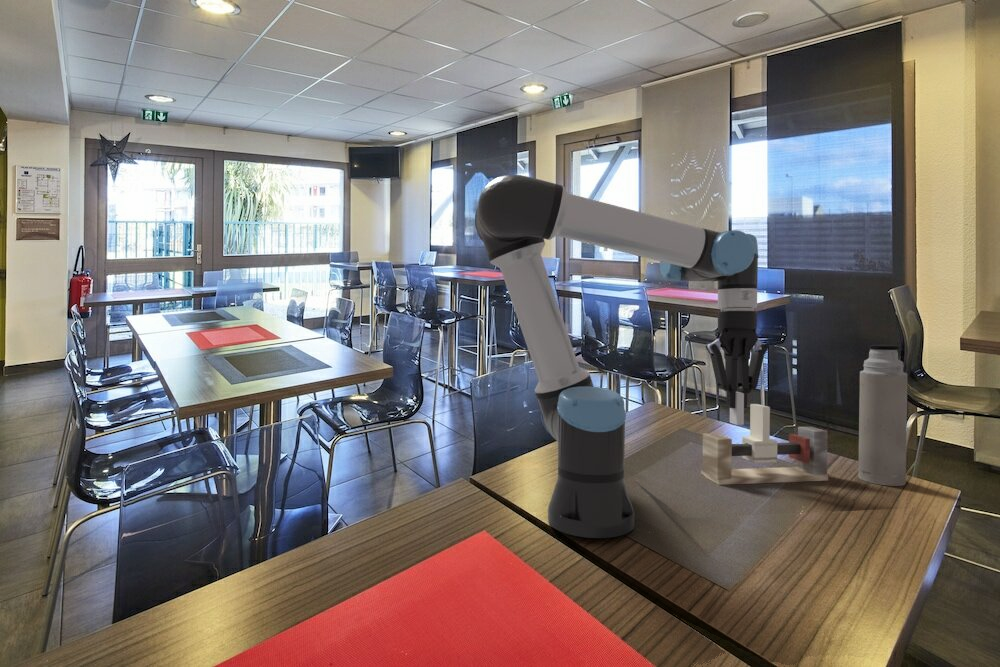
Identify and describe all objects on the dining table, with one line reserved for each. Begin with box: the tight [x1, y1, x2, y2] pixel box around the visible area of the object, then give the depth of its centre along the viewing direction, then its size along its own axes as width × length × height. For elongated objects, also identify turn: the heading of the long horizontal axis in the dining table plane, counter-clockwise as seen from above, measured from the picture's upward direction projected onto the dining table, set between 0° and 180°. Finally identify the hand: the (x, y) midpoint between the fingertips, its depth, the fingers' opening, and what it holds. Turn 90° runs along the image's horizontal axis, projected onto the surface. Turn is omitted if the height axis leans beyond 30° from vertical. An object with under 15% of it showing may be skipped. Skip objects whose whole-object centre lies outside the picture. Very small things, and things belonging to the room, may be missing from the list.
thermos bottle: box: [857, 344, 908, 487], centre depth 110 cm, size 8×8×28 cm
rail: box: [700, 426, 829, 486], centre depth 112 cm, size 24×7×10 cm, turn 97°
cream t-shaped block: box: [741, 403, 778, 464], centre depth 112 cm, size 5×4×11 cm
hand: (736, 423), depth 111 cm, fingers closed
